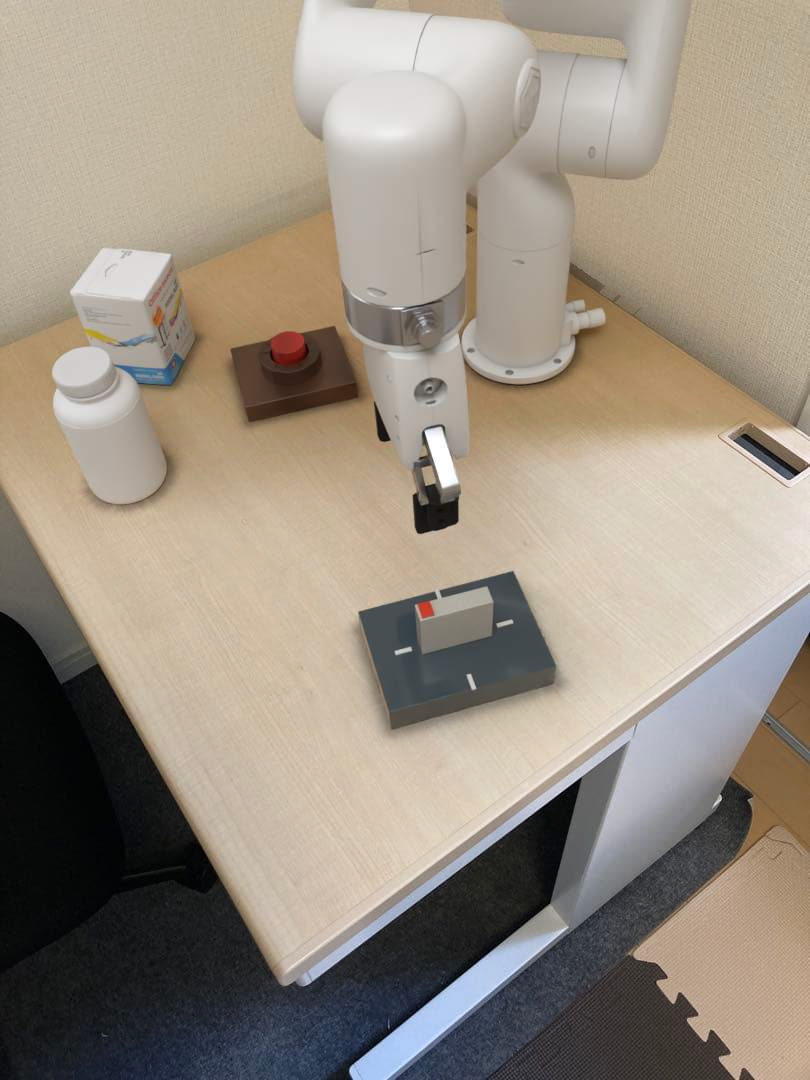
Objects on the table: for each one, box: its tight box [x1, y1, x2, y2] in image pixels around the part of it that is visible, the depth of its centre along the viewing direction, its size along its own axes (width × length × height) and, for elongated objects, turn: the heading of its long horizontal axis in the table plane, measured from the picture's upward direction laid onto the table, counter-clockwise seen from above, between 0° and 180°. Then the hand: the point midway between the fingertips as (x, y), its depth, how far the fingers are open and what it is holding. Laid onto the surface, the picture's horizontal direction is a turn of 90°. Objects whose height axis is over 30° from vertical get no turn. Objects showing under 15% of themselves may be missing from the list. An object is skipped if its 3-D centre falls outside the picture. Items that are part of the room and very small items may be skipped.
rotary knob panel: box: [357, 570, 557, 731], centre depth 76 cm, size 14×10×3 cm
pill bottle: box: [51, 346, 168, 505], centre depth 87 cm, size 8×8×15 cm
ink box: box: [69, 247, 196, 386], centre depth 99 cm, size 9×8×12 cm
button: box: [271, 330, 306, 365], centre depth 97 cm, size 4×4×2 cm
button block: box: [230, 325, 359, 423], centre depth 99 cm, size 12×10×4 cm
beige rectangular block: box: [415, 586, 493, 654], centre depth 73 cm, size 6×2×5 cm, turn 106°
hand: (416, 479), depth 69 cm, fingers open, 9 cm apart
